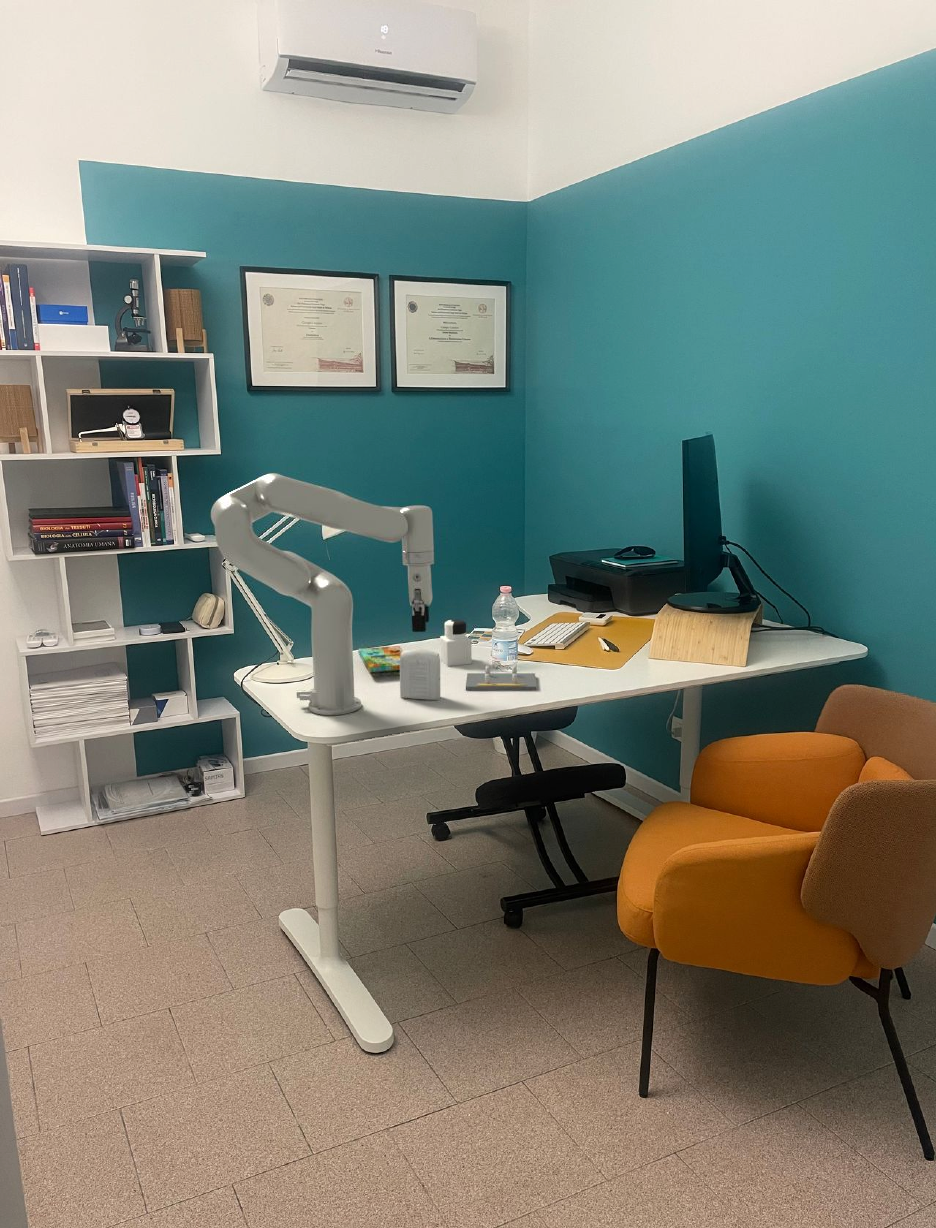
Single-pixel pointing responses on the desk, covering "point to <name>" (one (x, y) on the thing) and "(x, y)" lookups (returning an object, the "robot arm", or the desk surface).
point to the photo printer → (420, 674)
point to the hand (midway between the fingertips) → (420, 626)
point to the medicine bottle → (455, 644)
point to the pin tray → (501, 680)
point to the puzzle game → (381, 660)
